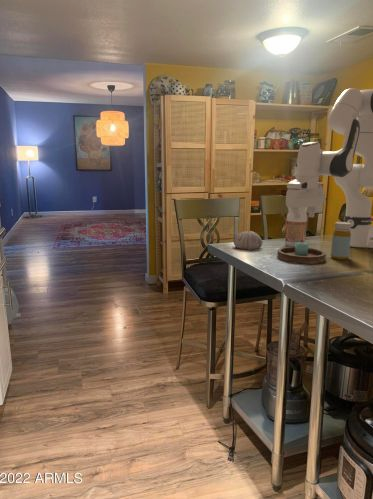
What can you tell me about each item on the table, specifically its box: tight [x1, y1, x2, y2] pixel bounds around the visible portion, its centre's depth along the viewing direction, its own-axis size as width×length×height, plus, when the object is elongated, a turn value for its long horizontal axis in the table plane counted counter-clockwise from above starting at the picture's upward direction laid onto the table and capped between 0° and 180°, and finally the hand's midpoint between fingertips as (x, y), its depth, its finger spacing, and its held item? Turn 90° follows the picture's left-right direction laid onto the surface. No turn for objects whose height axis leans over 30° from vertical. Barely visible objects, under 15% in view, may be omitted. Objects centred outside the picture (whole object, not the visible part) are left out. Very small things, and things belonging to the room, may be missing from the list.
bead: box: [295, 241, 309, 256], centre depth 159 cm, size 5×5×6 cm
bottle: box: [330, 221, 351, 261], centre depth 159 cm, size 7×7×15 cm
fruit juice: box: [284, 207, 309, 247], centre depth 182 cm, size 9×9×28 cm
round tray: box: [276, 246, 327, 265], centre depth 160 cm, size 19×19×3 cm
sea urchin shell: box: [233, 230, 264, 251], centre depth 178 cm, size 13×14×8 cm
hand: (304, 217), depth 156 cm, fingers open, 8 cm apart
